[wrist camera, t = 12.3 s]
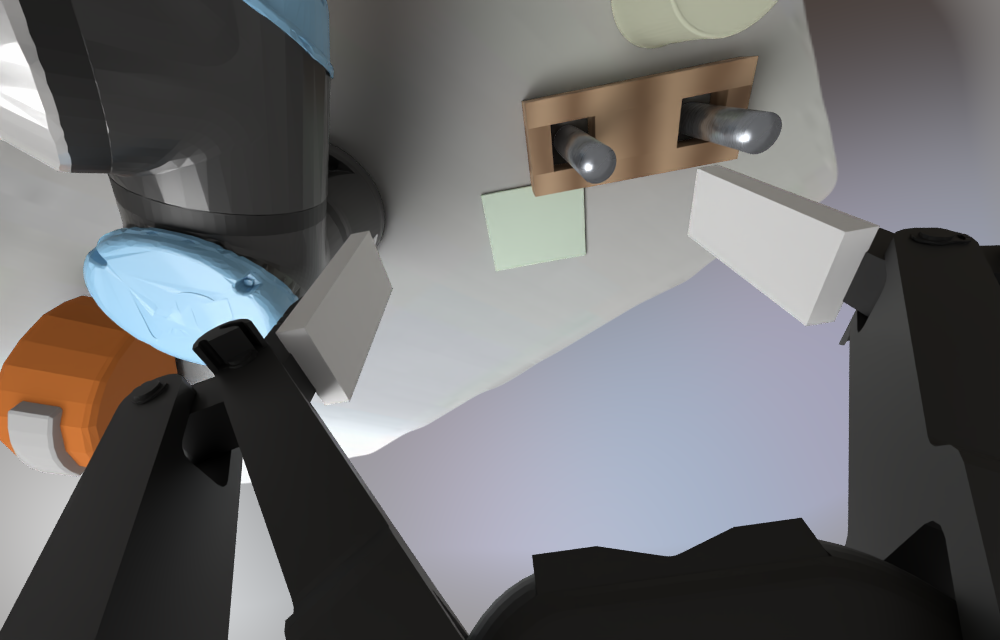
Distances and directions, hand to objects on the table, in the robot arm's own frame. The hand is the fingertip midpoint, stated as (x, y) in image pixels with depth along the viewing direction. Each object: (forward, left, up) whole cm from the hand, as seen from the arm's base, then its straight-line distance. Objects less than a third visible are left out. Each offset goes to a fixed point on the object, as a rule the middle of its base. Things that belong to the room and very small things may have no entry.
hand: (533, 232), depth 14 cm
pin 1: (+8, -2, -29) cm, 30 cm away
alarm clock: (-56, -20, -29) cm, 66 cm away
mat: (+3, -11, -29) cm, 31 cm away
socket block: (+14, -2, -29) cm, 32 cm away
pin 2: (+21, -2, -29) cm, 35 cm away
